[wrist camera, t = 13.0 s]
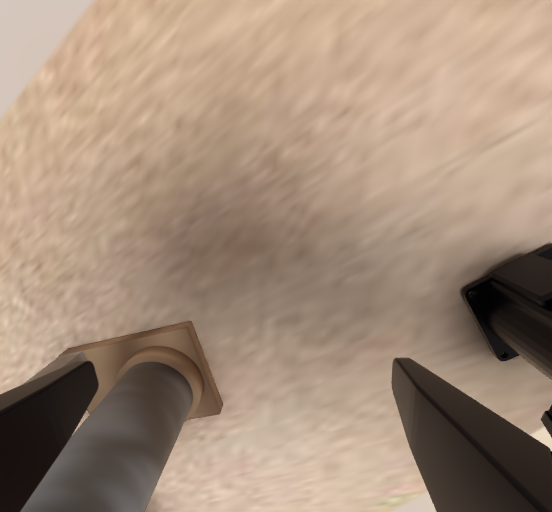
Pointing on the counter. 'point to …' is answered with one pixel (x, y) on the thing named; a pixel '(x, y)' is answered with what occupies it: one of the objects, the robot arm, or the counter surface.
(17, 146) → the counter surface
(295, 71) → the counter surface
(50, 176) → the counter surface
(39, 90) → the counter surface
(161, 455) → the ball
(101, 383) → the grey h-shaped frame
